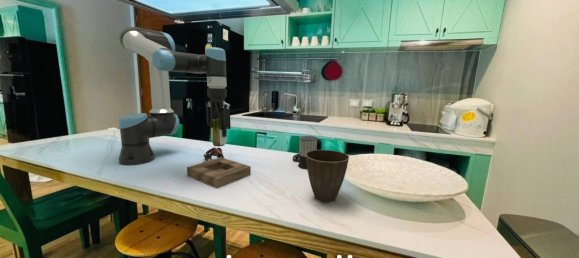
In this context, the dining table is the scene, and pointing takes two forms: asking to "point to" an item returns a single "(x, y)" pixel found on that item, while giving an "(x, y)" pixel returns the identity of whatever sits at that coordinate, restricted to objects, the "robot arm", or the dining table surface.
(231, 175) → the tray
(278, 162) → the dining table surface
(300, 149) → the milk frother
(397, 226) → the dining table surface
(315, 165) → the plant pot
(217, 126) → the fennel bulb
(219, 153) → the brown animal figurine
